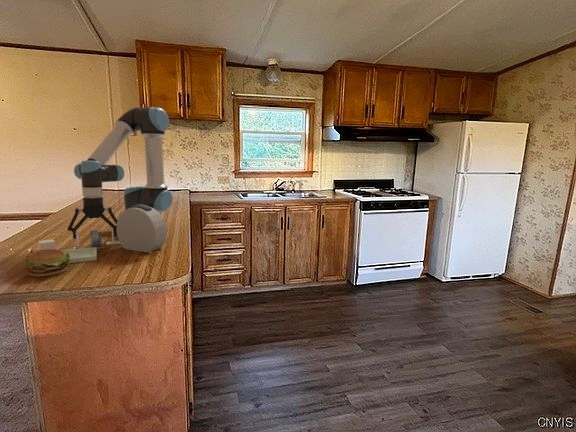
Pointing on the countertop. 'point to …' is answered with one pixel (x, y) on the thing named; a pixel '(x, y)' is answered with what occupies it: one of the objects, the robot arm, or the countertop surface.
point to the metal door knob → (96, 239)
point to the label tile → (114, 243)
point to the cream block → (47, 244)
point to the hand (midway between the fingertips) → (95, 244)
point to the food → (47, 263)
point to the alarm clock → (141, 229)
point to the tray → (81, 254)
